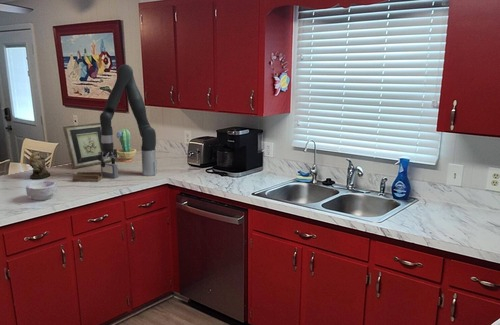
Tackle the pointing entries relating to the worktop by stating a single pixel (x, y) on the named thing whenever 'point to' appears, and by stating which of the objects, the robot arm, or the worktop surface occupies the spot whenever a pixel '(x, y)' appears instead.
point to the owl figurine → (38, 166)
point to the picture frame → (84, 144)
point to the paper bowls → (41, 190)
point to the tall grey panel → (110, 170)
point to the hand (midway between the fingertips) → (108, 165)
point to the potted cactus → (125, 146)
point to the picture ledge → (87, 177)
